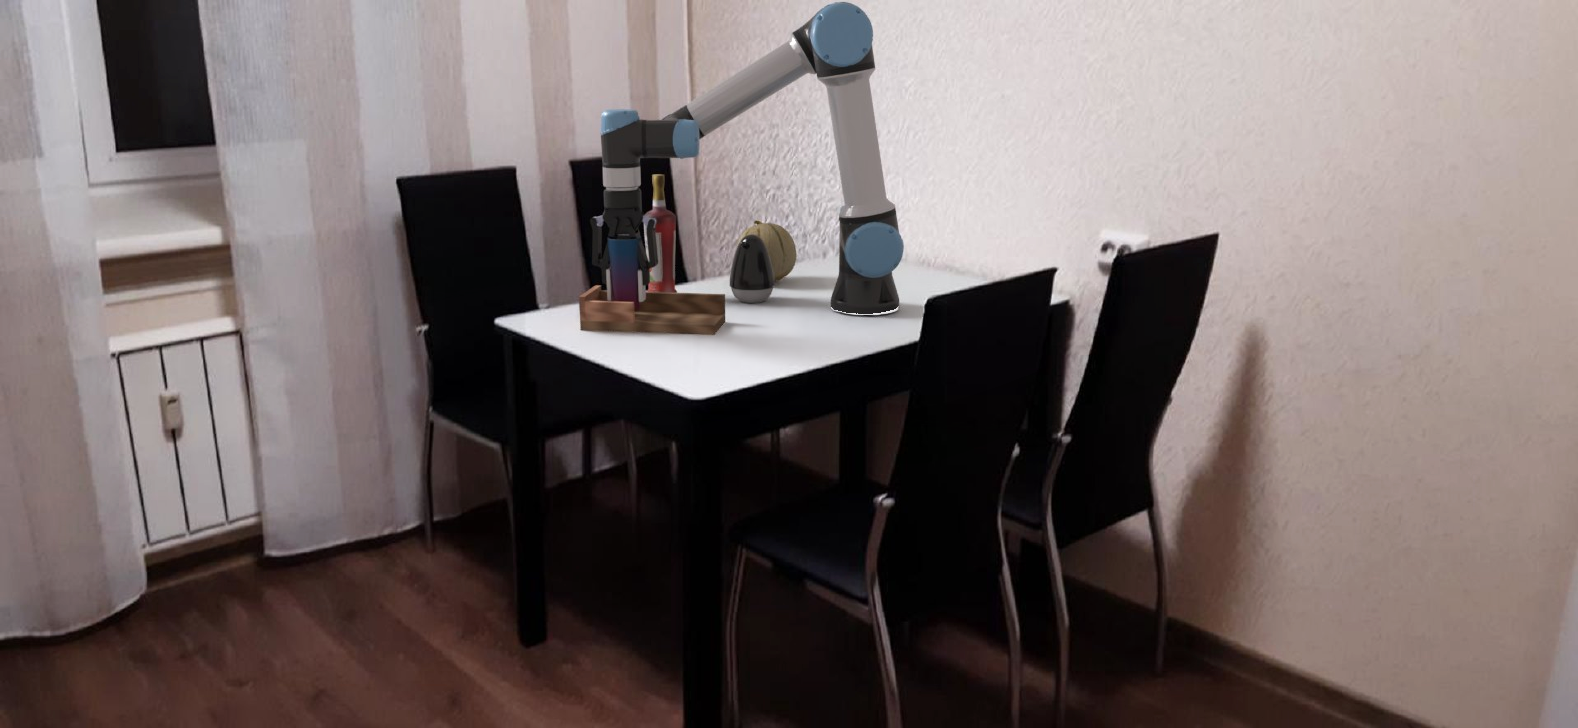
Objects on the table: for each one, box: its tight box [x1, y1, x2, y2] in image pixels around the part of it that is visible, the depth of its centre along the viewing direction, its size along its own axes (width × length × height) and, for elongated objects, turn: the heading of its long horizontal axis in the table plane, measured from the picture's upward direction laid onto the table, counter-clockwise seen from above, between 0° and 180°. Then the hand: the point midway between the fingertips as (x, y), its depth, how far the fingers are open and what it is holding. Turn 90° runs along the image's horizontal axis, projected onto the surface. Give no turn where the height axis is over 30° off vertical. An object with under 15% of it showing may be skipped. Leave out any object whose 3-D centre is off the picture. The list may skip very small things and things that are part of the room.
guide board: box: [578, 284, 726, 336], centre depth 239 cm, size 28×11×7 cm, turn 82°
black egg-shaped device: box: [729, 234, 775, 304], centre depth 260 cm, size 10×10×15 cm
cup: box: [606, 233, 642, 311], centre depth 238 cm, size 7×7×15 cm
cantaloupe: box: [736, 220, 797, 283], centre depth 279 cm, size 15×15×15 cm
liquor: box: [643, 173, 678, 293], centre depth 261 cm, size 7×7×28 cm
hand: (626, 299), depth 239 cm, fingers closed on cup, 6 cm apart
